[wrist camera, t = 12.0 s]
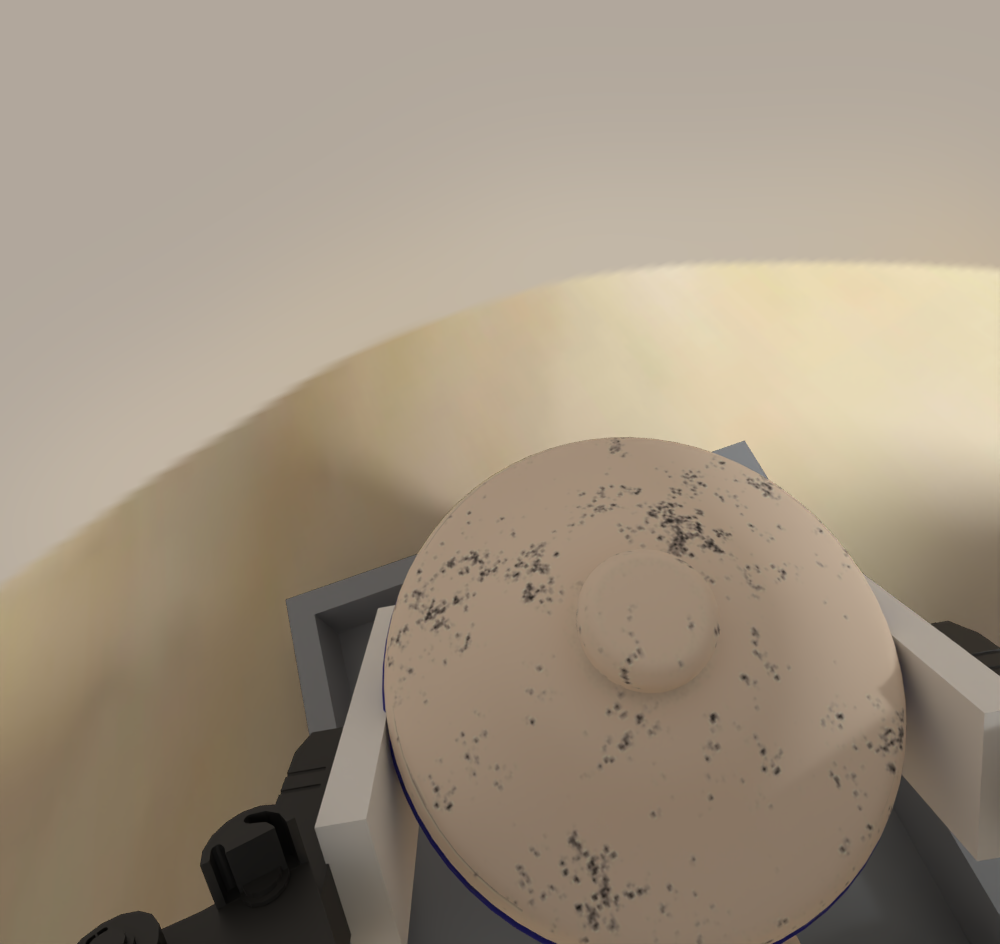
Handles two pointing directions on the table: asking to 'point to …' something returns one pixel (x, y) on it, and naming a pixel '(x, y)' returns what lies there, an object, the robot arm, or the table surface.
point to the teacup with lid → (644, 699)
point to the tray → (491, 940)
